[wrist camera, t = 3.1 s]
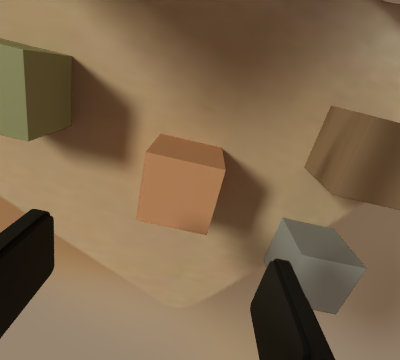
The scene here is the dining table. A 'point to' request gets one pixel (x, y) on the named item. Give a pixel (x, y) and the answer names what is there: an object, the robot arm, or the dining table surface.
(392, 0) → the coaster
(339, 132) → the walnut block
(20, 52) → the green cube
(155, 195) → the terracotta block
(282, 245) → the slate-grey block
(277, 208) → the dining table surface
